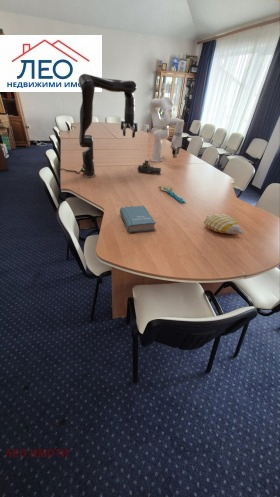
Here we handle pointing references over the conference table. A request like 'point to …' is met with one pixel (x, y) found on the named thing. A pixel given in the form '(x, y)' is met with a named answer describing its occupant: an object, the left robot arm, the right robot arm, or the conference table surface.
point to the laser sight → (148, 168)
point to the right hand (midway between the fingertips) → (175, 153)
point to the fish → (223, 224)
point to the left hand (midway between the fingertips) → (128, 136)
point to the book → (137, 219)
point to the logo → (171, 193)
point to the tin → (175, 153)
